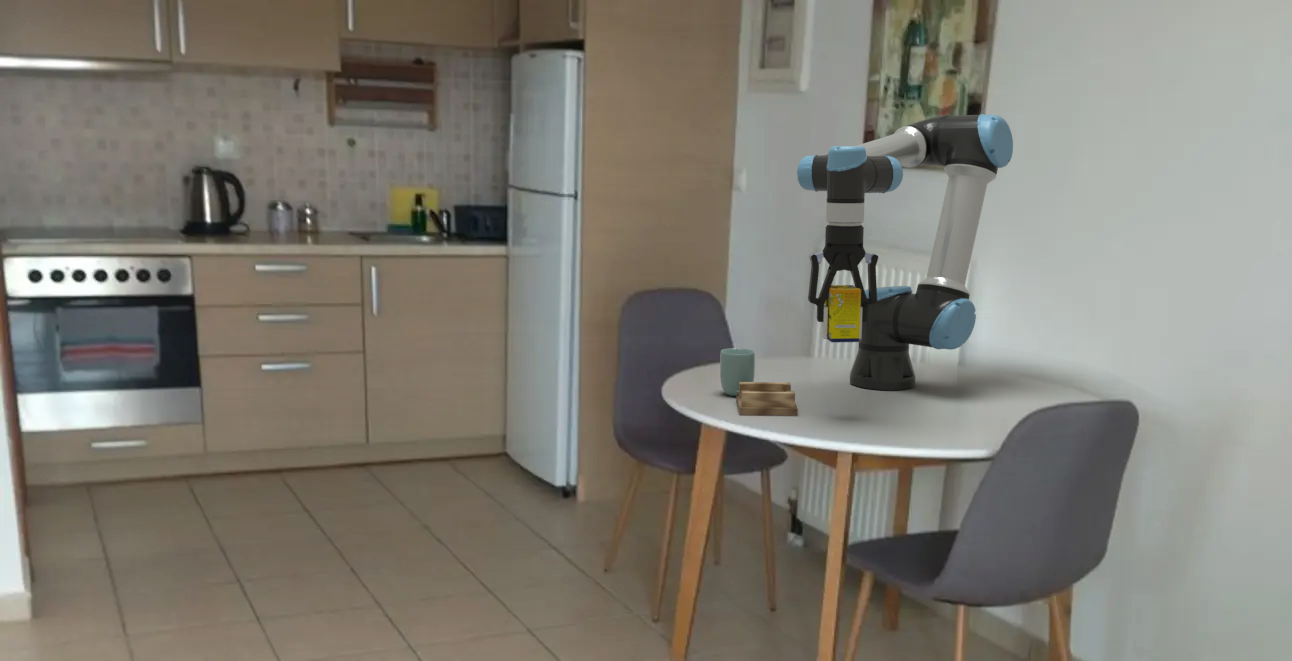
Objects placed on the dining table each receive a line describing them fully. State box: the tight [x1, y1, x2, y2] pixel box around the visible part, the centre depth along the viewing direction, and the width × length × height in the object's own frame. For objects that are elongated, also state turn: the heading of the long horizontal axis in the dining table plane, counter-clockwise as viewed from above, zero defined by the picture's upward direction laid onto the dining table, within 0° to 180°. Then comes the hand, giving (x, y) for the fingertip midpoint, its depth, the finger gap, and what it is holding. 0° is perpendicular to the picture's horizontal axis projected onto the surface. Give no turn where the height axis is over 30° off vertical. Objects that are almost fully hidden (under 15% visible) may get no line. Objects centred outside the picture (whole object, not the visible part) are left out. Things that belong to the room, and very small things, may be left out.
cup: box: [719, 347, 756, 397], centre depth 245 cm, size 8×8×10 cm
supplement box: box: [824, 284, 861, 343], centre depth 220 cm, size 6×6×11 cm
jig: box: [735, 381, 799, 417], centre depth 232 cm, size 12×13×4 cm
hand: (841, 337), depth 221 cm, fingers closed on supplement box, 6 cm apart
